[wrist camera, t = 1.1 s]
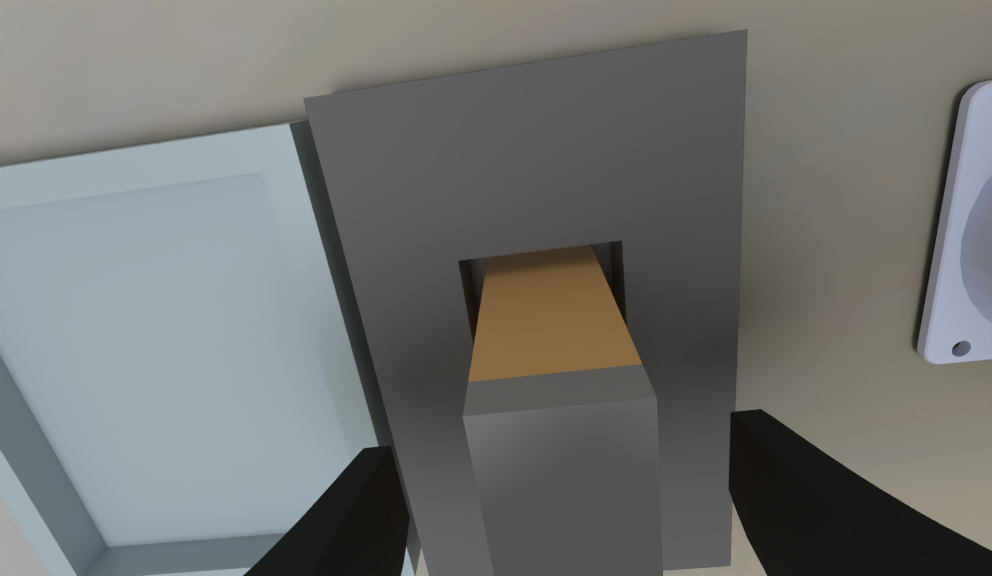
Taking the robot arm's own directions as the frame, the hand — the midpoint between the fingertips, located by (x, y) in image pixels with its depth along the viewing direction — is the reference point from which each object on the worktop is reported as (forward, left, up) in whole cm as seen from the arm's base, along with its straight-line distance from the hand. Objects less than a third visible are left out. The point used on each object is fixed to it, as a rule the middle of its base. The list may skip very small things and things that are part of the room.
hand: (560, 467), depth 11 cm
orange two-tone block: (0, 0, -6) cm, 6 cm away
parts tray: (+12, 0, -6) cm, 13 cm away
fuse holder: (0, 0, -6) cm, 6 cm away
